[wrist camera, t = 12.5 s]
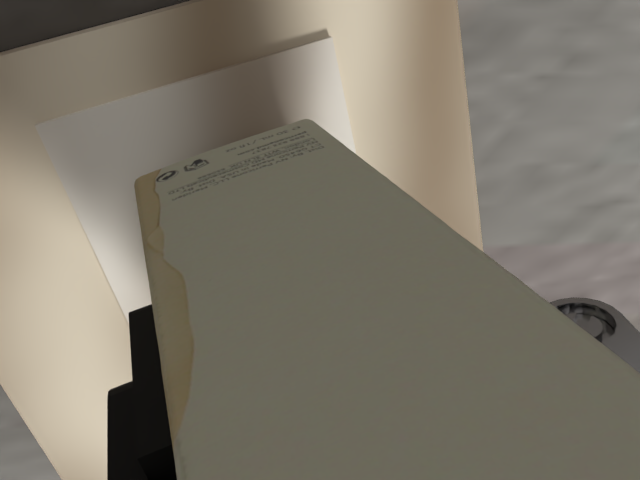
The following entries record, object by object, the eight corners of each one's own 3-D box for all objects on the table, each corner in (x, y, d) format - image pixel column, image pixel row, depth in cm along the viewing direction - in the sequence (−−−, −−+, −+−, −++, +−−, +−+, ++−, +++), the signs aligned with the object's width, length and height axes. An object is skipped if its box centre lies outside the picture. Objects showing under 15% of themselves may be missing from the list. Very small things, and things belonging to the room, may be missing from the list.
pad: (430, -66, 15) (454, -68, 14) (474, 310, 21) (494, 328, 20) (-161, 96, 12) (-184, 107, 11) (76, 475, 18) (75, 505, 17)
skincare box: (128, 174, 13) (179, 1170, 2) (317, 110, 13) (1053, 626, 3) (221, 385, 16) (432, 1234, 5) (371, 323, 16) (828, 960, 6)
